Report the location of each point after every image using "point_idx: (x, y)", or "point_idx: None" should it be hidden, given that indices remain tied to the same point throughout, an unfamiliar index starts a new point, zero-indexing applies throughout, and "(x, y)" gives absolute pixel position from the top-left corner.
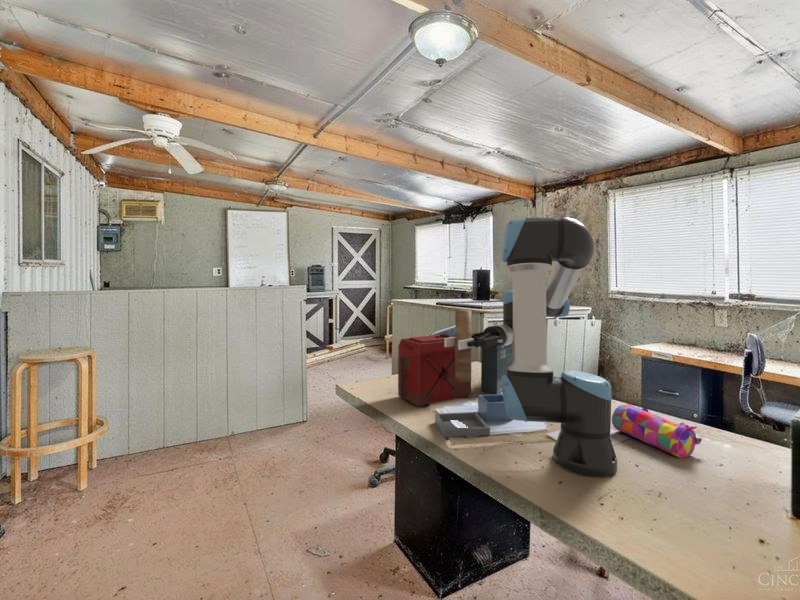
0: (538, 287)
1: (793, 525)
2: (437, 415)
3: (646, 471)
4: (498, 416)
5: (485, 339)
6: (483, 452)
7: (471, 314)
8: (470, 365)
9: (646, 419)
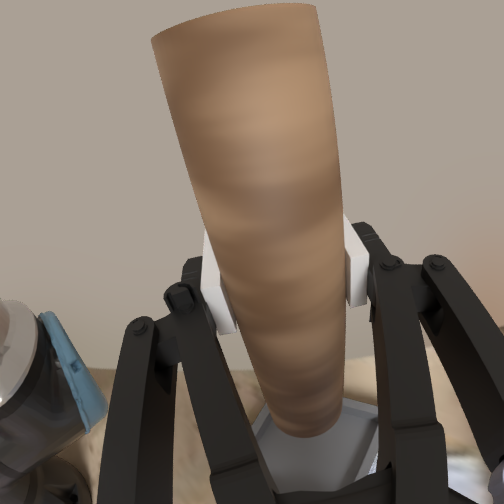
0: None
1: None
2: (376, 409)
3: None
4: None
5: (125, 346)
6: (189, 417)
7: (170, 74)
8: (260, 386)
9: None
